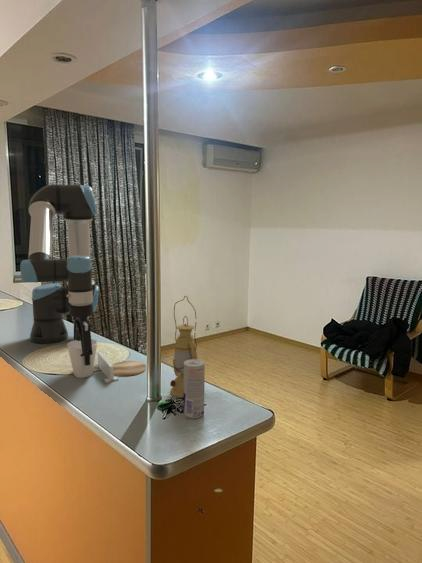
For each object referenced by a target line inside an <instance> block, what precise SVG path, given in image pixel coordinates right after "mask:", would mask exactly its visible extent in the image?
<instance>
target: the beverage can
mask: <svg viewBox="0 0 422 563" xmlns="http://www.w3.org/2000/svg"><path fill="white" fill-rule="evenodd" d="M205 364H206V363H205V361H204V360H202V359H190V360H186V361H185V362H184V398H183V416H184V417H185V418H188V419H199V418H201V417H203V416H204V414H205V368H206V366H205Z"/></svg>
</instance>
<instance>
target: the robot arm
mask: <svg viewBox="0 0 422 563" xmlns="http://www.w3.org/2000/svg"><path fill="white" fill-rule="evenodd" d="M28 214H29V216H30V228H29V229H30V230H29V231H30V232H29V245H28V257H27V258H28V259H23V260H21V262H20V269H19V270H20V277H21V280H22V281H23V282H24V283H36V284H37V283H46V284H42V285H39V286H36V287H34V288H33V289H32V291H31V293H32V294H31V296H32V297H31V301H32V315H33V317H32V318H33V323H32V327H31V330H30V335H29V340H30V342H31V343H34V344H43V345H44V344H53V343H58V342H62V341H64V340H67V339H68V338H69V331H68V329H67V327H66V324H65V321H64V316H63V315H69V316H70V317H71V318H72V319H73V340H77V341H81V346H82V354H81V355H80V356H82V374H83V375H86V374H91V355H92V354H93V352H92V343H91V339H92V335H91V333H92V332H91V323H90V322H89V320H88V317H90V316H92V315H93V314H94V312H95V311H97V307H98V303H99V302H98V301H99V285H97V284H96V281H95V279H93V274H92V273H93V270H92V269H93V265H92V259H91V258H92V257H91V236H90V234H91V232H90V223H91V222H92V221H93V219H94V216H95V215H97V208H96V201H95V196H94V191H93V188H92V187H91V186H89V185H84V184H83V185H81V184H54V183H53V184H48V185H47V184H46V186H43V187H42V188H40V189H39V190H37V191H36V192H35V193H34V194H33V196H32V197H31V199H30V201H29V204H28ZM56 215H62V216H63V220H64V221H65V222H66V223H67V235H68V236H67V240H68V257H67V258H65V259H61V258H60V259H54V258H53V222H54V220H53V219H54V218H55V216H56ZM48 282H53V283H48ZM55 282H57V283H55ZM58 282H59V283H58ZM61 282H66V286H62V284H61ZM86 351H88V352H86Z"/></svg>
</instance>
